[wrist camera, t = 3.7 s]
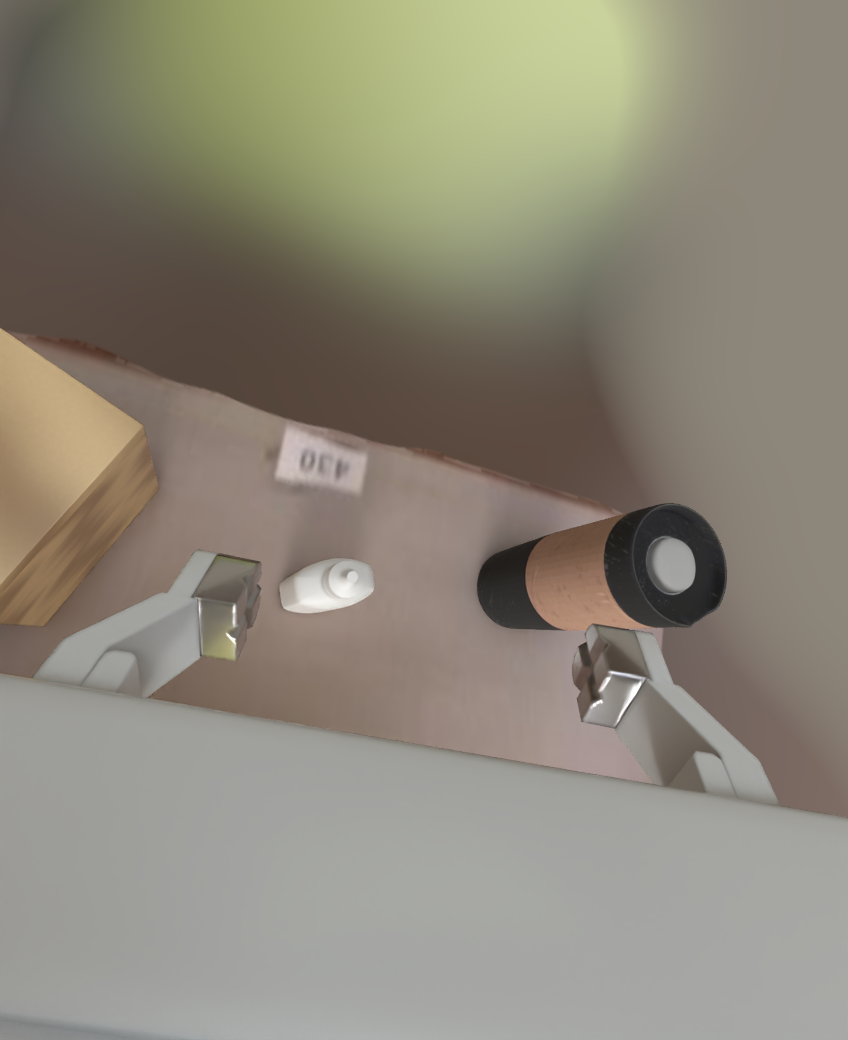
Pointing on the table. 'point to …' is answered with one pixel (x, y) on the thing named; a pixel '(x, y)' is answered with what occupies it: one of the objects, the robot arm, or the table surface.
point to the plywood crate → (60, 482)
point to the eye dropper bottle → (327, 586)
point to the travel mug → (610, 574)
